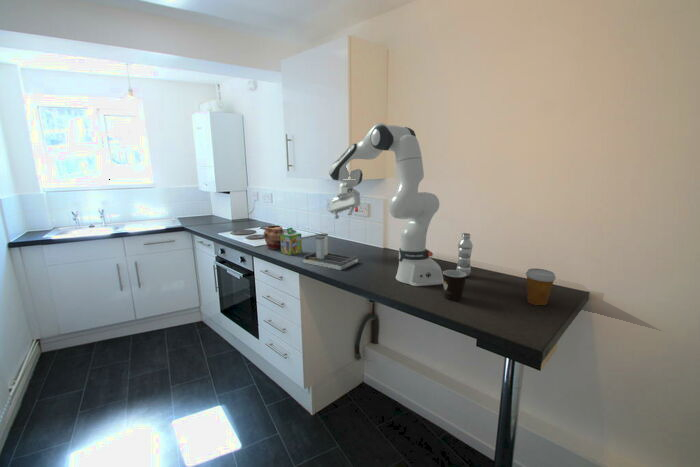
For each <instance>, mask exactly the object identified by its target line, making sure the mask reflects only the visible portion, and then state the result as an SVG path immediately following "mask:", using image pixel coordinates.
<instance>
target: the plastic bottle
mask: <svg viewBox="0 0 700 467" xmlns="http://www.w3.org/2000/svg"><path fill="white" fill-rule="evenodd" d="M457 246H458V247H457V250H458V251H457V252H458V254H457V255H458V258H457V265H456V269H455V270H458V271H462V272H464V273H466V278H467V277H470V275H471V273H472V270H471V256H472V251H473V248H474V245H473V243H472V241H471V234H470V233H468V232H466V233H465V232H464V233H461V239H460V240H459V242H458V244H457Z"/></svg>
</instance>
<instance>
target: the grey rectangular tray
mask: <svg viewBox="0 0 700 467" xmlns="http://www.w3.org/2000/svg"><path fill="white" fill-rule="evenodd" d="M302 260H303V263H304V264H308V265H312V266H313V265H314V266H317V265H318V267H322V266H323V268H327V267H328V268H327V269H332V268H333V270H338V271H342V270H344V269H346V268H349V267H351V266H353V265H355V264H357V263H358V261H359V260H358V256H357V255H355V256H349V255H348V256H347V255H342V254H337V253H332V252H328V255H324V259H320V258H316V251H315V252H312V253H309V254H306V255H304V256H303V258H302Z"/></svg>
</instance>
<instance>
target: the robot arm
mask: <svg viewBox="0 0 700 467" xmlns="http://www.w3.org/2000/svg"><path fill="white" fill-rule="evenodd" d="M416 135H417V134H416V132H415V131H414V129H412V128H410V127H408V126H400V125H399V126H398V125H395V124H394V125H393V124H392V125H391V124H390V125H387V124H386V123H383V122H378V123H376V124H374V125H373V126H372V127H371V129H369V131H368V132H367V133H366V135H365V136H364V138H363V139H361V140H360V141H358V142H356V143H353V144H351V145H350V146H349V147H348V148H347V149H346V150H345V151H344V152H343V153H342V154H341V155H340V157H339V158H338V159H337V160H336V161H334V162H333V163H331V166H330V168H329V171H328V174H329V176H330V178H331V179H332V180H334V181H338V188H337V194H336V195H337V196H336V197H333V198H332V199H331V201H330V203H329V206H328V211H329V212H330V213H331V214H334V219H336V220H338V219H340V218H339V217H340V216H339V215H338V213H340V212H344V211H347V210H348V211H347V215H348V216H352V214H353V212H354V210H355V208H358V207H360V205H361V193H360V192H359V191H358V190H357V189H355V188H354V187H356V186H358V185H360V184H361V183H362V181H363V175H364V174H363V171H362V169H361V168H359V169H356V170H353V171H351V173H350V175H349V172H348V170H347V168H346V165H349V163H350V162H351V161H352V160H353V161H354V160H374V159H376V158H377V157H379V156H380V154H382V153H383V151H386V152H387V151H391V152H394V156H395V162H396V164H395V165H396V173H397V187H396V190H395V192H394V195H393V196H392V197H391V198H390V200H389V204H388V210H389V213H390V215H391V216H392V217H393V218H395V219H400V220H408V221H407V223H406V224H405V225H404V227H403V228H402V229H401V231H400V246H399V251H398V268H397V273H396V275H395V279H396V281H398V282H400V283H403V284H407V285H411V286H413V287H423V286H424V287H426V286H435V285H437V286H438V285H444V284H443V270H442V269H441V266H440V265H439V264H438V263H437V262H436V261H435V260H433V259H432V258H431V257H433V256H434V253H433V252H432V251H431V250H429V249H427V248H426V245H427V234H428V229H429V226H430V224H431V221H432V219H433V217H434V215H435V214H436V213H437V212H438V211H439V209H440V199H439V198H438V196H437V195H436V194H434V193H431V192H427V191H422V192H421V191H420V192H419V186H420V183H421V182H422V181H423V179H424V177H425V173H424V164H423V158H422V157H423V156H422V152H421V151H422V150H421V147H420V144H419V141H418V139H417V136H416ZM360 169H361V170H360ZM349 176H350V177H351V179H356V180H343V179H348V177H349Z"/></svg>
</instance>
